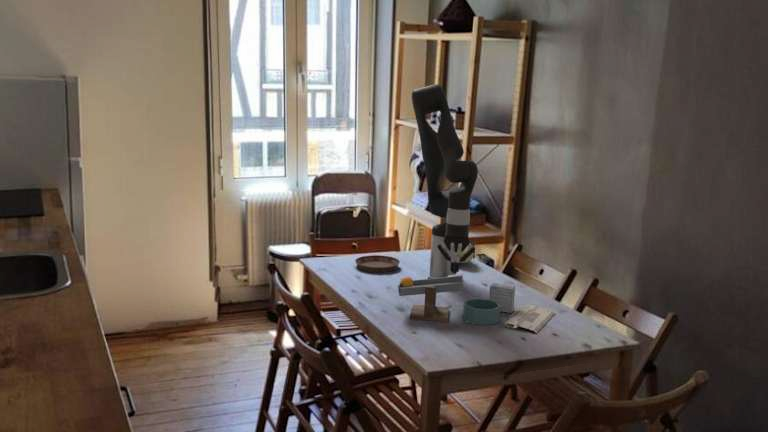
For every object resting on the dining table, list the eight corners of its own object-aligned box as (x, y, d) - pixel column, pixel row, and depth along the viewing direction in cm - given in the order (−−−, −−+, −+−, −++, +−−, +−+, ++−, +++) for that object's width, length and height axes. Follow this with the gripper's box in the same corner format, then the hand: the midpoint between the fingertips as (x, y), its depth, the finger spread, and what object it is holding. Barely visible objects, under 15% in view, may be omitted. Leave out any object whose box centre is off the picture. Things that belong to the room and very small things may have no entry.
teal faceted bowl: (478, 310, 236) (479, 296, 235) (506, 320, 227) (507, 305, 226) (455, 317, 229) (456, 302, 228) (482, 327, 220) (484, 312, 219)
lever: (404, 286, 241) (402, 272, 240) (463, 281, 238) (461, 266, 237) (399, 301, 226) (397, 285, 225) (462, 295, 223) (460, 280, 222)
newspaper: (519, 308, 242) (520, 301, 241) (554, 319, 236) (555, 312, 236) (496, 328, 222) (498, 320, 221) (534, 340, 217) (536, 332, 216)
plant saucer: (348, 271, 276) (348, 263, 275) (363, 260, 292) (363, 253, 292) (392, 276, 271) (392, 269, 270) (404, 265, 288) (404, 257, 287)
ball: (407, 286, 232) (407, 274, 231) (415, 288, 229) (415, 276, 228) (398, 288, 230) (398, 276, 229) (406, 291, 227) (406, 279, 226)
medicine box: (513, 310, 238) (515, 285, 236) (511, 314, 234) (513, 289, 232) (490, 306, 240) (492, 282, 239) (487, 310, 236) (489, 285, 235)
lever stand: (412, 307, 236) (414, 275, 234) (448, 310, 235) (450, 278, 233) (409, 319, 225) (411, 285, 223) (447, 322, 224) (449, 288, 222)
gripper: (436, 222, 228) (433, 274, 232) (478, 225, 226) (474, 277, 230) (438, 217, 235) (435, 268, 239) (478, 220, 234) (474, 271, 237)
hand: (454, 272), depth 234 cm, fingers closed
